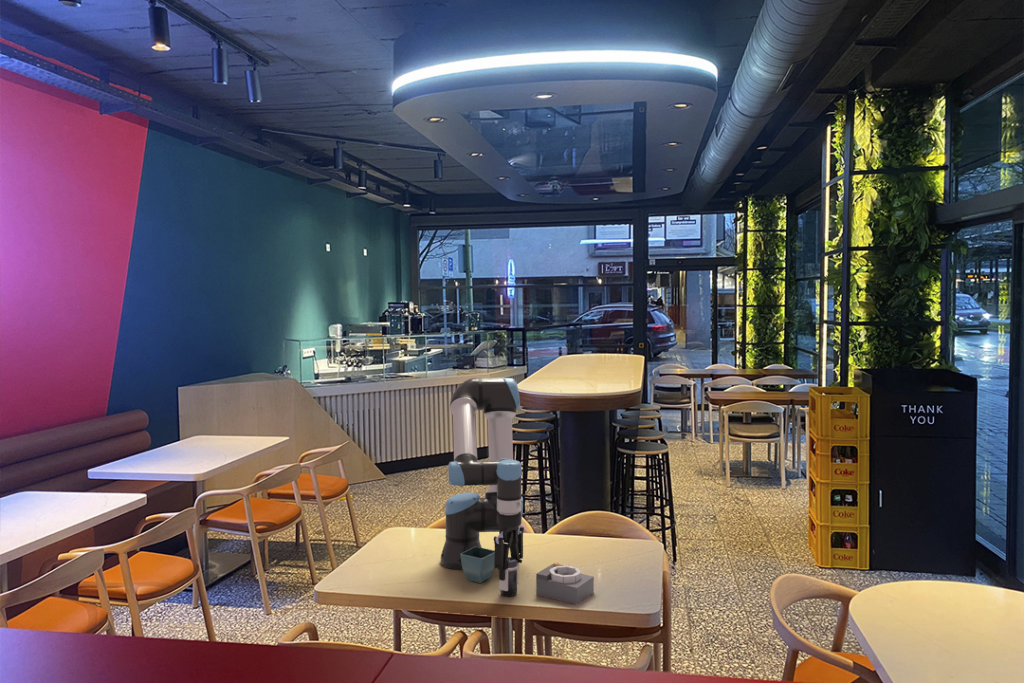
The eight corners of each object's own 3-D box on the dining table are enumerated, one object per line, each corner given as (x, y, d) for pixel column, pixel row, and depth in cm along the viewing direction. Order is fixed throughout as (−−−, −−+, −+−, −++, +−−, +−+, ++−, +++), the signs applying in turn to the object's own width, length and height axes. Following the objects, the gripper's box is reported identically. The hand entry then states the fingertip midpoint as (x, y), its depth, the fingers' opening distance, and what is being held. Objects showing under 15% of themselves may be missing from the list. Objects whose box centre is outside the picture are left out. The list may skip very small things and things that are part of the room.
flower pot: (482, 586, 224) (482, 558, 223) (459, 581, 228) (459, 553, 228) (497, 578, 231) (497, 550, 231) (475, 572, 236) (475, 546, 235)
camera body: (536, 594, 217) (536, 570, 217) (554, 583, 227) (554, 560, 226) (576, 604, 210) (577, 580, 209) (593, 592, 219) (593, 569, 219)
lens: (497, 593, 217) (497, 560, 216) (506, 587, 221) (506, 555, 221) (511, 597, 214) (511, 563, 214) (520, 591, 218) (520, 558, 218)
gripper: (502, 521, 207) (502, 599, 208) (535, 506, 222) (534, 579, 223) (481, 517, 211) (481, 594, 212) (514, 503, 226) (514, 574, 227)
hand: (508, 586), depth 218 cm, fingers closed on lens, 5 cm apart
